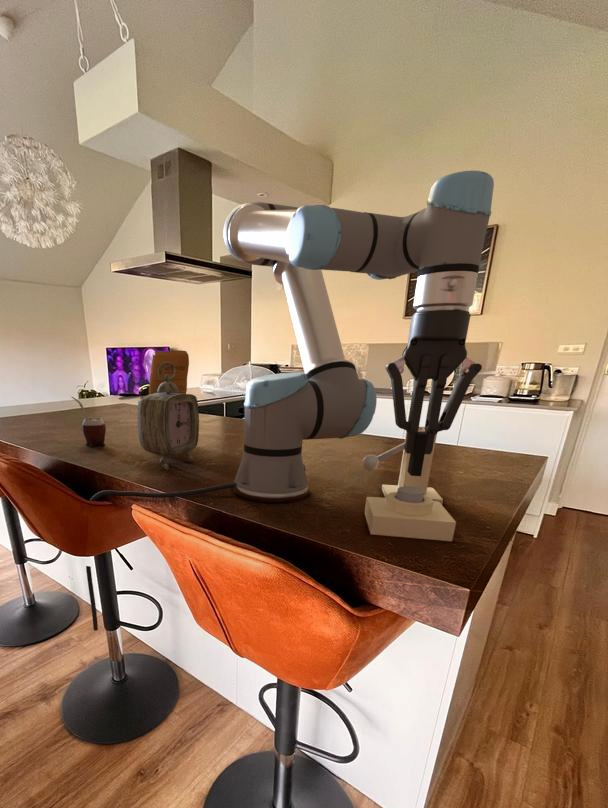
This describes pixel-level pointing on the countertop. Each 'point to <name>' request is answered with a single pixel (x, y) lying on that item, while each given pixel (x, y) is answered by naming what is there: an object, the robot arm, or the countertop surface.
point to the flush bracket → (415, 481)
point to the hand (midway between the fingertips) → (414, 473)
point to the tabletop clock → (168, 420)
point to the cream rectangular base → (409, 518)
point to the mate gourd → (93, 429)
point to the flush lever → (381, 457)
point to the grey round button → (410, 494)
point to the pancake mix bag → (169, 370)
